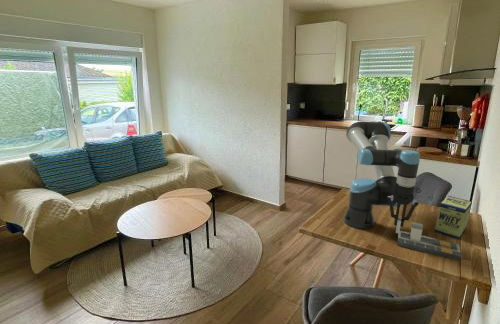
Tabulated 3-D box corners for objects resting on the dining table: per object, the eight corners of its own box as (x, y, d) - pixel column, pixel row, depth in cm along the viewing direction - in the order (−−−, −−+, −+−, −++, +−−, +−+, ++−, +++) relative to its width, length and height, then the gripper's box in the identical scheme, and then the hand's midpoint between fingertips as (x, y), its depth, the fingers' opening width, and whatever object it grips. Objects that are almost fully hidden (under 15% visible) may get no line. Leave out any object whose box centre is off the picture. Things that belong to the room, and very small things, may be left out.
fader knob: (409, 239, 135) (412, 226, 133) (409, 235, 139) (412, 222, 137) (420, 242, 133) (422, 228, 131) (420, 237, 137) (422, 224, 135)
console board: (396, 245, 134) (397, 239, 134) (398, 233, 144) (398, 228, 144) (460, 260, 123) (461, 254, 123) (456, 247, 134) (457, 241, 133)
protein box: (434, 232, 147) (439, 203, 143) (442, 222, 157) (448, 195, 153) (458, 240, 140) (465, 210, 135) (465, 229, 150) (472, 200, 146)
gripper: (388, 184, 132) (381, 232, 138) (422, 190, 126) (413, 239, 132) (390, 179, 138) (383, 225, 145) (421, 184, 132) (413, 232, 139)
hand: (397, 231), depth 139 cm, fingers closed
